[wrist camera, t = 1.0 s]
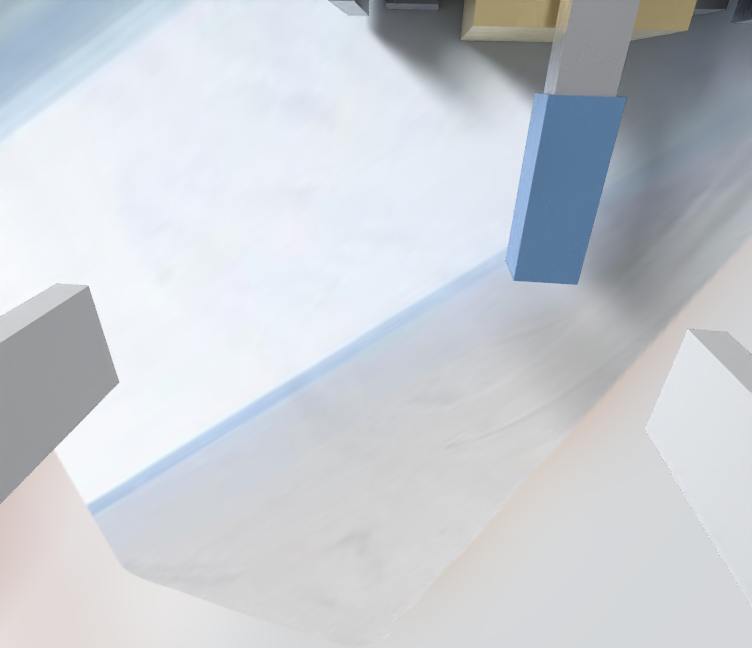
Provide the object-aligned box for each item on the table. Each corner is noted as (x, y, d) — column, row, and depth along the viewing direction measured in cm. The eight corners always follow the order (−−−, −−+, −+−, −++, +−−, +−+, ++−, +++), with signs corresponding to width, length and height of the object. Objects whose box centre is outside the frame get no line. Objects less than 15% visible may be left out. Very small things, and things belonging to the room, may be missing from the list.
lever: (554, -192, 16) (577, -240, 14) (702, -194, 16) (752, -244, 13) (485, 258, 24) (492, 279, 22) (581, 264, 24) (599, 285, 22)
